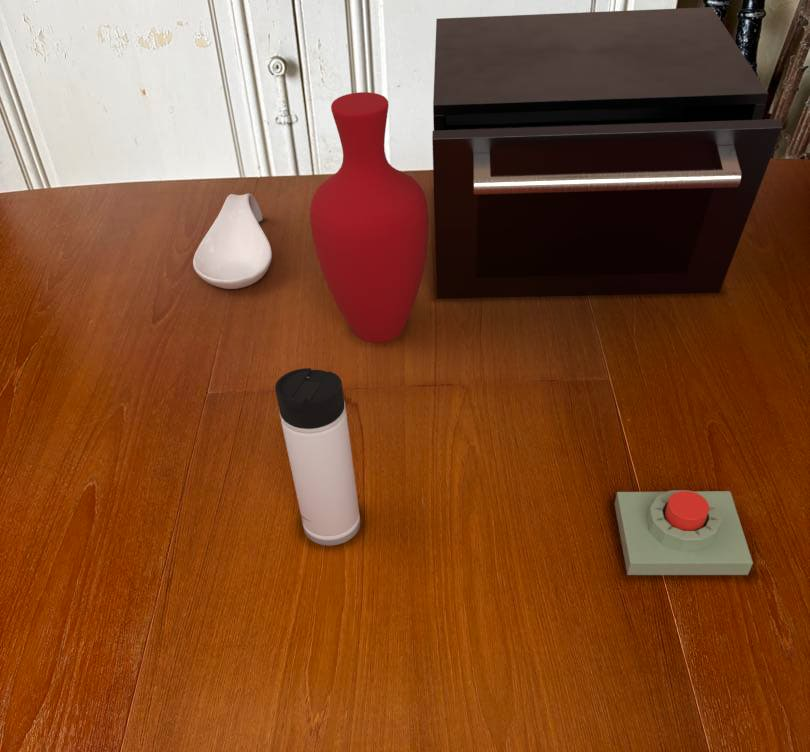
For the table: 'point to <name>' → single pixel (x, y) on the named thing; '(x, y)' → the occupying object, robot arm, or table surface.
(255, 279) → the spoon rest
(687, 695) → the table surface
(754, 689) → the table surface
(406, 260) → the vase
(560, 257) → the oven door
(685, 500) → the button
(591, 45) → the oven
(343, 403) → the travel mug
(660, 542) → the timer box
